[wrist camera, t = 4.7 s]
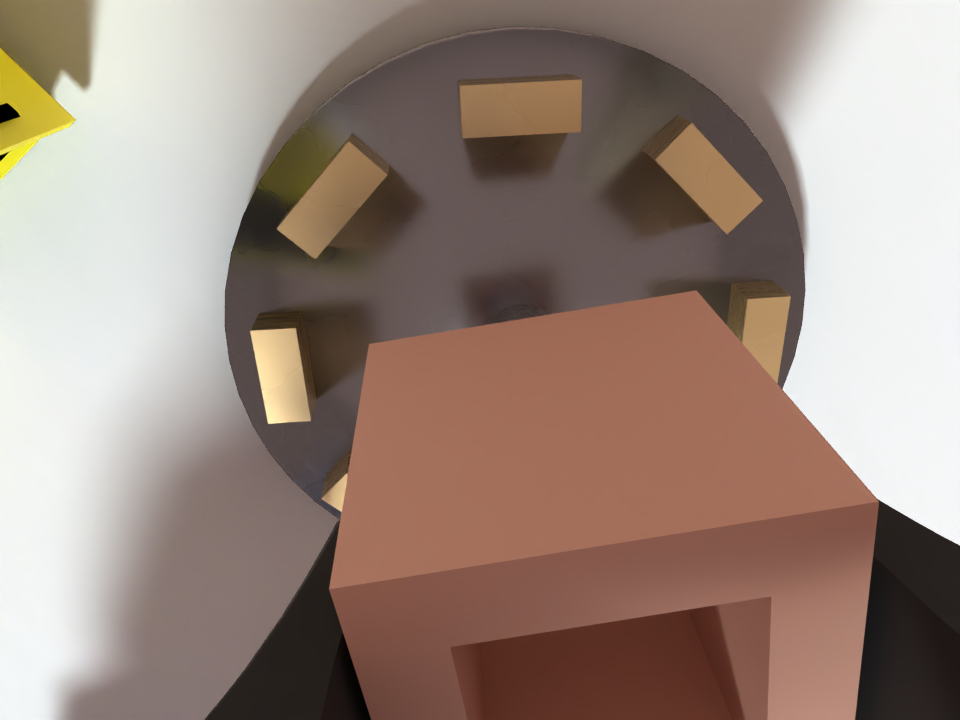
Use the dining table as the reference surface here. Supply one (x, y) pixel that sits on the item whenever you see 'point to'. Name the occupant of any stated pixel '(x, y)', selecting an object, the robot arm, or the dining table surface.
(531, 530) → the pink square tube
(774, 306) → the hub
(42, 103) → the yellow toy chassis
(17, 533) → the dining table surface
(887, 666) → the robot arm
